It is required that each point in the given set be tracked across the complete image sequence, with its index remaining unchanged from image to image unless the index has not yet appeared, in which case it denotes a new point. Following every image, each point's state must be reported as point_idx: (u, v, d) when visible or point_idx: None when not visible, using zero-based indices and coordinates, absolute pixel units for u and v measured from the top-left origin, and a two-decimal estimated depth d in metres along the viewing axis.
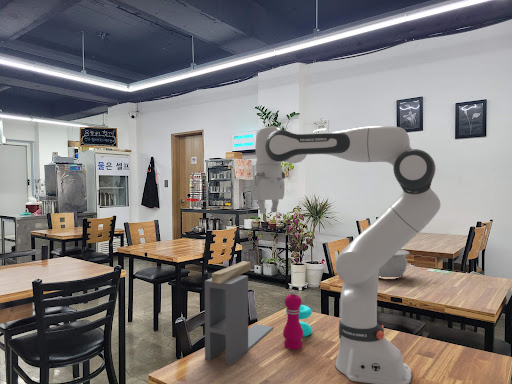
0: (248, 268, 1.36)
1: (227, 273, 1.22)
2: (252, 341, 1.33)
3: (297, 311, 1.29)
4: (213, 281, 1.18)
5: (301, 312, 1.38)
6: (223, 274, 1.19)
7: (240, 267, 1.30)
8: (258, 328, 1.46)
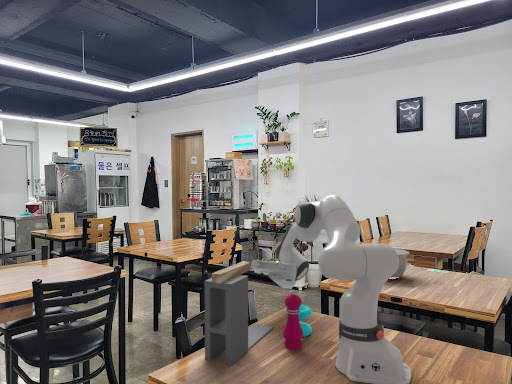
0: (248, 268, 1.36)
1: (227, 273, 1.22)
2: (252, 341, 1.33)
3: (297, 311, 1.29)
4: (213, 281, 1.18)
5: (301, 312, 1.38)
6: (223, 274, 1.19)
7: (240, 267, 1.30)
8: (258, 328, 1.46)
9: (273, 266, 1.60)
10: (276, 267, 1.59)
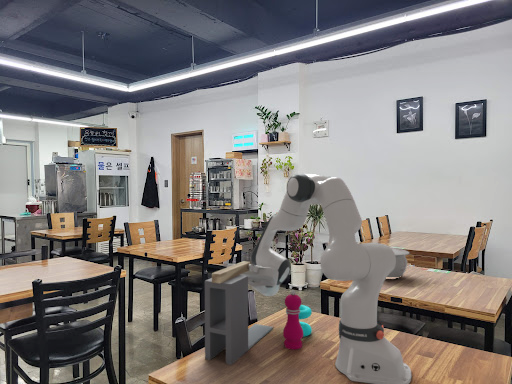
0: None
1: (227, 273, 1.22)
2: (252, 341, 1.33)
3: (297, 311, 1.29)
4: (213, 281, 1.18)
5: (301, 312, 1.38)
6: (223, 274, 1.19)
7: (240, 267, 1.30)
8: (258, 328, 1.46)
9: (250, 270, 1.39)
10: (254, 271, 1.38)
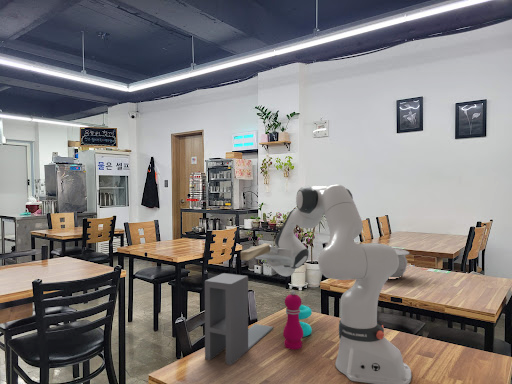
0: None
1: (253, 252, 1.39)
2: (252, 341, 1.33)
3: (297, 311, 1.29)
4: (242, 258, 1.36)
5: (301, 312, 1.38)
6: (250, 252, 1.37)
7: (263, 248, 1.48)
8: (258, 328, 1.46)
9: (271, 251, 1.57)
10: (274, 252, 1.56)
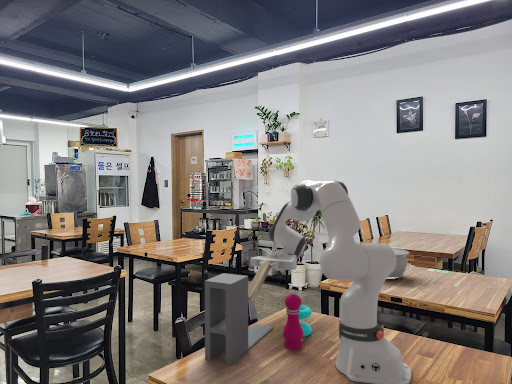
0: None
1: (255, 289, 1.41)
2: (252, 341, 1.33)
3: (297, 311, 1.29)
4: None
5: (301, 312, 1.38)
6: (252, 294, 1.39)
7: (264, 273, 1.48)
8: (258, 328, 1.46)
9: (272, 263, 1.58)
10: None
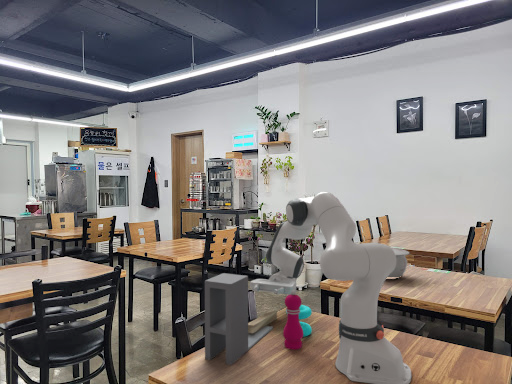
0: (275, 317, 1.57)
1: (258, 324, 1.44)
2: (252, 341, 1.33)
3: (297, 311, 1.29)
4: None
5: (301, 312, 1.38)
6: (255, 325, 1.41)
7: (269, 317, 1.52)
8: None
9: (272, 288, 1.58)
10: (275, 289, 1.57)
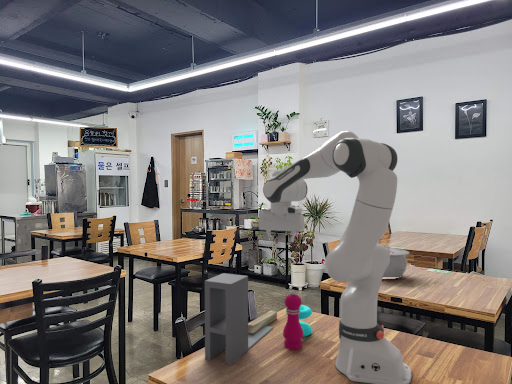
0: (275, 317, 1.57)
1: (258, 324, 1.44)
2: (252, 341, 1.33)
3: (297, 311, 1.29)
4: None
5: (301, 312, 1.38)
6: (255, 325, 1.41)
7: (269, 317, 1.52)
8: None
9: None
10: None
